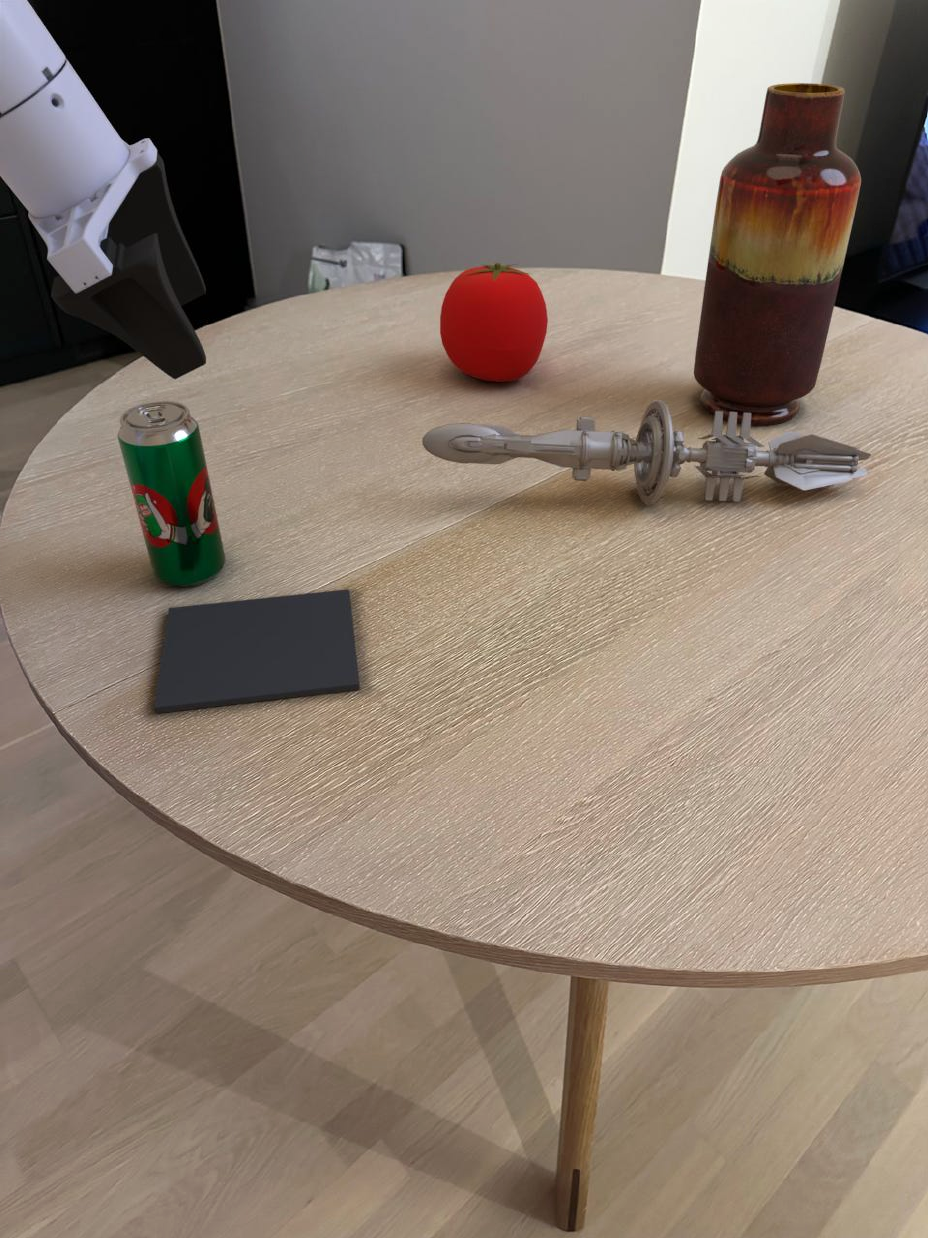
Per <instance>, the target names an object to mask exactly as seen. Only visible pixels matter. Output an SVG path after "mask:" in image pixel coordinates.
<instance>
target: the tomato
mask: <svg viewBox="0 0 928 1238" xmlns="http://www.w3.org/2000/svg"><path fill="white" fill-rule="evenodd" d="M520 264H522V263H521V262H520V263H519V265H520ZM516 265H518V263H514V264H513V263H511V264H506V265H501V263H500V262H496V263H494V264H483V265H480V266H475V267H471V268H468V269H465V270H464V271H462V272H461V273H460V274H458V275H457V276H456V277H455V278H454V279H453V281H452V282H451V284H450V285H449V287H448V288H447V290H446V291H445V294H444V297H443V300H442V304H441V308H440V314H439V315H440V316H439V334H440V339H441V344H442V346H443V349H444V351H445V354H446V355H447V357H448V359H449V360H450V362H451V363H452V364H453V366H454V367H455V368H457V369H458V370H459V371H461V372H462V373H464V374H465V375H468V376H470V377H473V378H476V379H479V380H483V381H488V382H494V383H495V382H496V383H497V382H498V383H499V382H500V383H501V382H502V383H503V382H512V381H516V380H519V379H522V378H523V377H524V376H526V375H527V374H528V373H530V372H531V370H533V368H534V366H535V365H536V363H537V362H538V360H539V358H540V356H541V353H542V350H543V347H544V344H545V341H546V337H547V333H548V324H549V323H548V322H549V318H548V309H547V303H546V300H545V297H544V295H543V291H542V289H541V287H540V286H539V284H538V281H536V280H535V279H534V278H533V277H532V276H531V275H530V273H528V272H525V271H522V270H520V269H517V268H514V267H513V266H516Z"/></svg>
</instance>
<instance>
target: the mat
mask: <svg viewBox="0 0 928 1238" xmlns="http://www.w3.org/2000/svg"><path fill="white" fill-rule="evenodd" d="M165 625H166V626H165V632H164V638H163V644H162V652H161V656H160V658H161V659H160V663H159V670H158V676H157V683H156V689H155V695H154V701H153V711H154V713H155V714H162V713H164V714H165V713H173V712H180V711H188V710H197V709H206V708H214V707H223V706H230V705H238V704H239V705H240V704H248V703H257V702H265V701H274V700H283V699H291V698H298V697H307V696H308V697H309V696H315V695H316V696H317V695H324V694H334V693H342V692H343V693H344V692H351V691H359V690H360V689H361V687H360V686H361V685H360V677H359V668H358V659H357V658H358V657H357V651H356V649H357V648H356V640H355V633H354V632H355V631H354V624H353V613H352V605H351V595H350V589H348V588H347V589H337V590H329V591H319V592H318V591H317V592H309V593H300V594H299V593H298V594H289V595H280V596H279V595H278V596H271V597H263V598H252V599H241V600H232V601H223V602H213V603H205V604H194V605H186V606H185V605H184V606H174V607H169V608H168V611H167V619H166V623H165Z"/></svg>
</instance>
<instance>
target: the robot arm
mask: <svg viewBox="0 0 928 1238" xmlns="http://www.w3.org/2000/svg"><path fill="white" fill-rule="evenodd" d="M165 168H166V167H165V163H164V160H163V158H162V157H161V155H160V154H159V152H158V149H157V147H156V146H155V145H154V143H153V142H152V140H151V139H150V138H149V137H148V138H143V139H141V140H139V141H138V142H135V143H134V144H130V145H129V144H128V143H127V142H126V141H124V140H123V139H122V137H120V135H119V134H118V132H117V131H116V129H115V127H114V126H113V125H112V123H111V122H110V121H109V119H108V118H107V116H106V114H105V113H104V111H103V110H102V109H101V107H100V106H99V104H98V102H97V101H96V100H95V98H94V97H93V95H92V94H91V92H90V91H89V90H88V87H86V85H85V84H84V81H82V79H81V77H80V76H79V75H78V74H77V72H76V70H75V69H74V68H73V66H72V63H70V62H69V60H68V59H67V58H66V54H64V52H63V51H62V49H61V48H60V46H59V45H58V44H57V42H56V40H55V39H54V38H53V36H52V34H51V33H50V31H49V30H48V29H47V27H46V25H44V23H43V21H42V20H41V18H40V17H39V16H38V14H37V12H36V10H34V7H32V5H31V4H30V3H29V1H28V0H0V177H1V179H2V180H3V181H4V183H5V184H6V185H7V186H8V187H9V188H10V190H11V191H12V192H13V194H14V195H15V196H16V197H17V199H18V200H19V201H20V202H21V204H22V205H23V206H24V208H25V209H26V210H27V212H28V214H27V215H28V219H29V220H30V222H31V224H32V225H33V226H34V228H35V229H36V231H37V232H38V234H39V235H40V237H41V238H42V240H43V241H44V243H45V245H46V247H47V257H46V260H47V261H48V262H49V264H51V266H52V267H53V268H54V270H55V271H56V272H57V273H58V275H57V276H56V277H54V279H53V283H52V287H51V292H50V297H51V299H52V300H53V301H54V302H55V304H56V305H57V306H58V307H59V308H60V310H62V311H63V312H64V313H65V314H68V315H71V316H73V317H75V318H79V319H81V320H85V321H87V322H89V323H91V324H93V325H94V326H97V327H99V328H101V329H103V330H105V331H107V332H109V334H112V335H114V336H115V337H117V338H119V339H120V340H121V341H123V343H125V344H126V345H128V346H130V347H131V348H132V349H133V350H135V351H136V352H137V353H139V354H140V355H141V356H142V357H144V358H145V359H146V360H147V361H149V362H150V363H151V364H152V365H154V366H155V367H157V368H158V369H159V370H160V371H162V372H163V373H164V374H166V375H167V376H169V377H170V378H171V379H174V380H177V379H179V378H181V377H183V376H185V375H187V374H189V373H191V372H193V371H195V370H197V369H199V368H201V367H203V366H205V365H206V364H207V356H206V353H205V350H204V347H203V345H202V342H201V340H200V338H199V336H198V334H197V333H196V330H195V329H194V327H193V325H192V323H191V322H190V320H189V318H188V316H187V315H186V312H185V311H184V309H183V308H182V307H183V306H184V305H187V304H189V303H190V302H192V301H194V300H196V299H198V298H201V297H202V296H205V295H206V294H207V288H206V285H205V281H204V278H203V276H202V273H201V271H200V268H199V266H198V264H197V261H196V259H195V257H194V254H193V252H192V250H191V248H190V246H189V243H188V241H187V239H186V237H185V234H184V232H183V230H182V227H181V224H180V222H179V219H178V216H177V214H176V211H175V207H174V204H173V200H172V197H171V193H170V188H169V185H168V181H167V180H168V179H167V174H166V169H165Z"/></svg>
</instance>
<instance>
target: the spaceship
mask: <svg viewBox="0 0 928 1238" xmlns="http://www.w3.org/2000/svg"><path fill="white" fill-rule="evenodd" d="M723 421H724V420H723V411H715V416H713V421H712V427H711V433H709V434H707V435H705V436H702V437H698V438H697V440H705V441H704V442H703V444H702V446H701V447H700V448H694V447H693V448H692V447H691V446H689V447H687V446H686V445H684V444H683V443H684V442H685V437H684V433H683V431H681V430H674V425H673V422H672V418H671V413H670V410H669V408H668V406H667V404H666V403H665V402H664V401H662V400H659V399H657V400H654V401H652V402H650V403H649V405H648V406H647V408H646V409H645V411H644V413H643V416H642V419H641V422H640V425H639V428H638V431H637V434H636V439H633V438H631V437H630V435H629V434H627V433H625V432H623V431H615V430H611V431H602V430H601V431H599V430H595V429H596V421H595V419H593V418H592V417H586V416H585V417H584V416H581V417H579V418H577V419H576V425H575V426H576V427H575V429H559V430H553V431H549V432H545V433H539V434H534V435H532V434H531V435H530V434H520V433H517V432H515V431H512V430H511V429H509V428H507V427H505V426H504V425H500V424H499V425H498V424H485V423H484V424H483V423H471V422H456V423H448V424H443V425H439V426H436V427H434V428H432V429H430V430H428V431H427V432H426V433H425V434H424V435H423V437H422V440H421V443H422V444H421V445H422V446H423V448H424V449H425V450H426V451H427V452H428V453H429V454H431V455H432V456H434V457H435V458H439V459H441V460H444V461H448V462H452V463H458V464H465V465H466V464H467V465H468V464H475V465H476V464H479V465H502V464H504V463H507V462H509V461H512V460H514V459H518V458H524V459H525V458H526V459H535V460H538V461H541V462H545V463H548V464H551V465H554V466H557V467H560V468H566V469H567V468H568V469H570V468H571V469H572V473H571V474H572V475H571V477H572V479H573V480H574V481H576V482H587V481H588V480H590V479H591V475H592V473H591V472H592V470H606V471H607V470H608V471H611V472H615V471H617V472H620V471H623V470H625V469H627V467H628V466H632V465H633V469H634V470H633V471H634V476H635V477H634V478H635V483H636V489H637V493H638V497H639V498H640V500H641V501H642V502H643V504H645V505H646V506H647V505H648V506H651V505H654V504H656V503H658V501H659V500H660V499H661V497H662V495H663V494H664V492H665V489H666V487H667V484H668V481H669V479H670V477H671V478H678V476H679V475H680V472H681V470H682V467H681V465H683V464H685V462H686V463H698V464H699V465H694V468H695V469H696V470H697V471H698V472H699V473H701V474H702V475H703V477H704V478H705V486H704V487H705V488H704V500H705V501H713V500H714V499H713V498H714V493H715V488H716V482H717V479H719V487H718V501H720V502H727V499H728V493H729V488H730V482H731V480H732V479H733V482H732V483H733V485H732V500H731V501H732V502H737V503H738V502H739V503H740V502H741V497H742V492H743V488H744V483H745V480H749V479H753V478H754V479H755V478H760V475H750V476H749V475H748V476H747V475H746V474H745V473H748V474H751V473H752V472H753V471H755V469H756V467H764V468H766V469H765V471H764V473H763V475H764V476H766V477H767V478H769V479H771V480H772V481H774V482H775V483H777V484H779V485H780V486H786V485H790V486H793V487H794V488H796V489H798V490H800V491H802V492H806V491H810V490H811V491H812V490H815V489H819V488H824V487H828V486H834V485H838V484H842V483H847V482H850V481H852V480H855V479H858V478H862V477H867V476H868V475H869V473H868V470H867V469H866V468H864V467H860V466H858V464H859V461H865V460H868V459H870V458H871V456H872V454H871V453H870V452H867V451H863V450H861V448H859V447H856V446H852V445H849V444H847V443H843V442H840V441H837V440H834V439H830V438H828V437H824V436H820V435H817V434H815V433H810V434H802V433H799V432H795V431H792V430H788V431H786V432H784V433H782V434H780V435H778V436H776V437H774V438H772V439H770V440H769V441H768V447H769V450H758V448H765V446H764V445H763V444H762V443H760V442H759V441H757V440H756V439H754V437H753V436H751V427H752V425H751V413H744V414H743V419H742V424H740V429H739V435H737V424H738V423H737V412H729V418H728V421H727V424H726V428H725V434H723ZM707 439H710V440H707ZM745 440H746V441H748V442H746V441H745ZM710 472H711V473H710ZM740 473H744V474H740Z"/></svg>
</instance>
